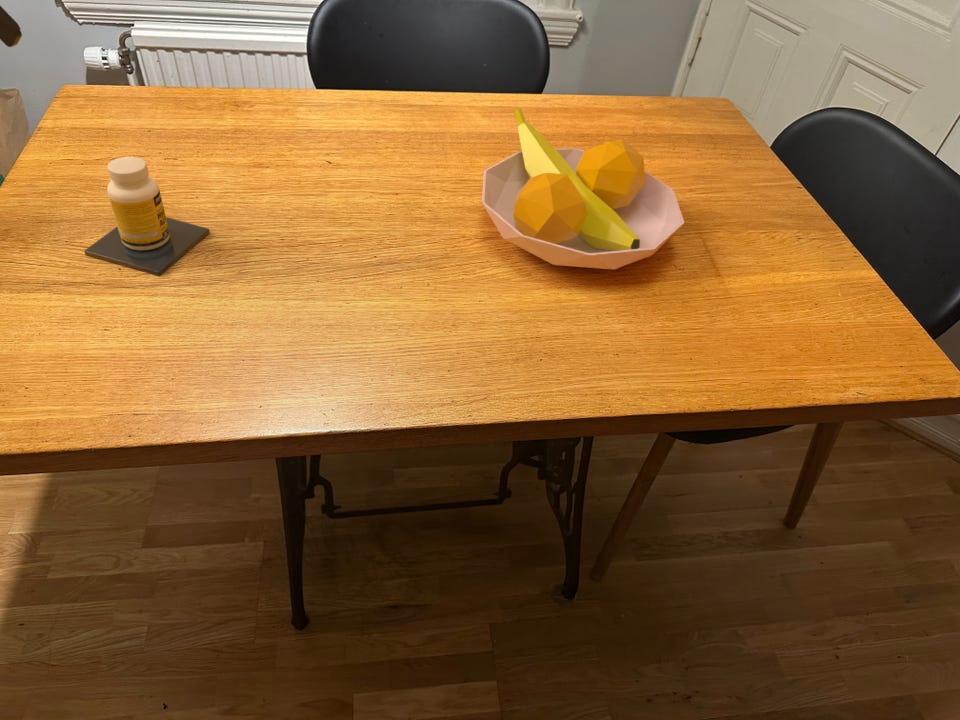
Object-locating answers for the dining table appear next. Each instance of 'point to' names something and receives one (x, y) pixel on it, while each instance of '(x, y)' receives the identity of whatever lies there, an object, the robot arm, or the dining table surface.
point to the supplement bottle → (137, 204)
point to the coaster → (149, 260)
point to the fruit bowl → (579, 202)
